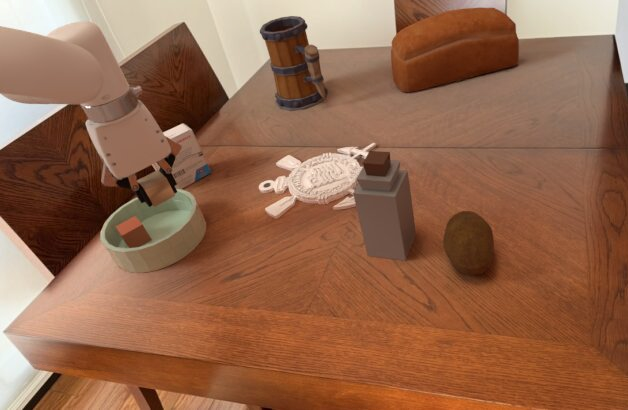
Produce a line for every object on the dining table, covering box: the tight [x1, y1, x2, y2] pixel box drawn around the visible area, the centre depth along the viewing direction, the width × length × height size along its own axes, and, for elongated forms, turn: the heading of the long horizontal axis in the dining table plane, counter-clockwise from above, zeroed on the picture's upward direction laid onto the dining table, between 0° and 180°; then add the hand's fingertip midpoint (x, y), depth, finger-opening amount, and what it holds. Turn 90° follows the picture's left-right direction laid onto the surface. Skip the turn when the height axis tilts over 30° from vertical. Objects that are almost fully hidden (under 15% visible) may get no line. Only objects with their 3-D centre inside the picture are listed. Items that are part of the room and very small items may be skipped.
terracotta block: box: [115, 216, 151, 248], centre depth 95 cm, size 4×4×4 cm
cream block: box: [137, 169, 175, 207], centre depth 88 cm, size 4×4×4 cm
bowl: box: [99, 188, 208, 274], centre depth 95 cm, size 18×18×6 cm
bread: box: [390, 7, 520, 93], centre depth 129 cm, size 14×33×16 cm, turn 104°
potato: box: [442, 210, 495, 277], centre depth 79 cm, size 8×12×8 cm, turn 8°
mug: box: [259, 15, 329, 112], centre depth 128 cm, size 19×14×20 cm
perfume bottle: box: [352, 150, 417, 261], centre depth 81 cm, size 7×7×18 cm
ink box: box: [162, 123, 212, 190], centre depth 109 cm, size 9×5×12 cm, turn 130°
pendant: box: [258, 142, 377, 220], centre depth 104 cm, size 21×28×1 cm
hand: (160, 195), depth 90 cm, fingers closed on cream block, 4 cm apart
